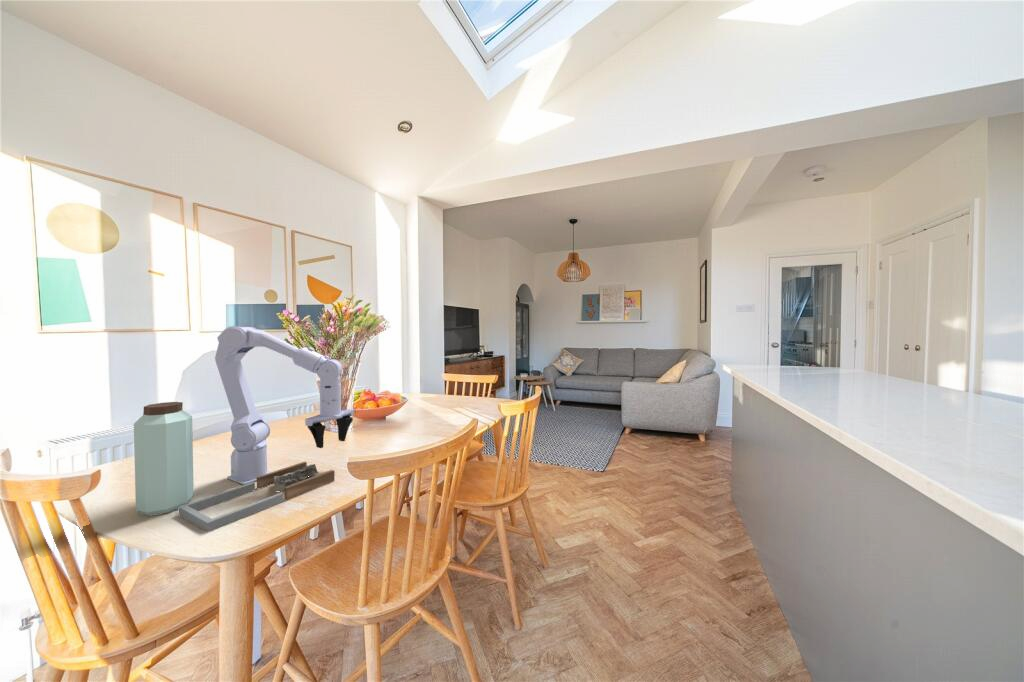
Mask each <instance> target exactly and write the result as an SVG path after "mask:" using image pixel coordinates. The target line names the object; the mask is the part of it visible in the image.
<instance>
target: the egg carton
mask: <svg viewBox="0 0 1024 682" xmlns="http://www.w3.org/2000/svg"><path fill="white" fill-rule="evenodd" d="M319 474H320V473H319V472H318V469H317V467H316V464H315V463H313V464H309V465H307V466H305V467H303V469H302V470H297V471H295V472H292V473H287V474H285V475H283V476H280V477H279V476H275V477H274V484H273V485H274V487H275V488H274V492H275V493H277V492H276V491H280V492H279V493H281V492H282V493H284V487H287V486H289V485H292V484H295V483H297V482H300V481H303V480H306V479H308V478H311V477H314V476H316V475H319ZM308 476H309V477H308Z"/></svg>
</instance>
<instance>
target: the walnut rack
mask: <svg viewBox="0 0 1024 682" xmlns="http://www.w3.org/2000/svg"><path fill="white" fill-rule="evenodd" d="M307 464H308V463H307V462H306V461H302V462H299V463H296V464H293V465H289V466H287V467H283V468H281V469H277V470H274V471H270V472H271V473H268V474H265V475H262V476H258V477H257V481H256V488H257V489H258V488H260V489H263V488H265V486H266V487H268V486H267V485H269V486H271V485H270V484H272V485H274V484H273V483H274V477H275V476H279V477H280V476H283V475H285V474H287V473H292V472H295V471H297V470H302V469H303V467H305V466H308V465H307ZM318 474H319V475H316V476H314V477H311V478H308V479H306V480H303V481H300V482H297V483H295V484H292V485H289V486H287V487H284V492H283V493H284V494H283V500H286V501H289V500H291V499H294V498H296V497H298V495H299V496H301V495H304V494H305V493H308V492H311V491H314V490H315V489H318V488H321V487H323V486H325V485H328V484H331V483H333V482H335V470H333V469H330V470H328V471H324V472H322V473H318ZM330 482H331V483H330ZM262 487H263V488H262ZM303 493H304V494H303ZM293 497H294V498H293Z"/></svg>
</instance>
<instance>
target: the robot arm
mask: <svg viewBox="0 0 1024 682" xmlns="http://www.w3.org/2000/svg"><path fill="white" fill-rule="evenodd" d="M217 341H218V343H217V344H218V345H217V349H216V353H215V356H214V360H215V364H216V367H217V370H218V373H219V376H220V379H221V382H222V384H223V385H222V386H223V389H224V391H225V395H226V398H227V401H228V404H229V406H230V410H231V413H232V416H233V420H232V422H231V425H230V430H231V437H230V444H231V445H232V447H233V448H234V449H233V450H232V452H231V454H230V475H228V476H227V477H226V478H227V479H228V480H230V481H234V482H236V483H238V484H240V485H245V484H248V483H251V482H254V483H255V482H257V477H258V476H262V475H265V474H268V473H271V472H272V471H268V448H267V447H268V444H267V438H268V437H269V436H270V434H271V427H270V425H269V424H268V423H267V422H266V421H265V419H264V417H263V415H262V414H260V413H259V412H258V411H257V408H256V406H255V402H254V399H253V396H252V393H251V389H250V386H249V383H248V381H247V377H246V374H245V370H244V368H243V365H242V359H243V358H244V357H245V356H246V355H247V354H248V352H249V351H251V350H253V349H254V348H257V347H258V348H259V347H262V348H267V349H269V350H271V351H273V352H277V353H278V354H281V355H284V356H286V357H288V358H290V359H292V361H293V364H294V365H296V366H297V367H300V368H302V369H304V370H307V371H309V372H311V373H313V374H316V375H317V377H318V378H319V414H317V415H313V416H310V417H308V418H305V420H304V421H305V422H304V423H305V424H304V425H305V426H307V428H308V430H309V431H310V433H311V435H312V436H313V440H314V442H315V446H316V448H319V449H323V448H324V437H325V436H324V435H325V430H326V425H324V424H323V423H326V422H331V421H333V420H335V422H336V424H337V433H338V434H337V436H338V437H337V438H338V441H339V442H345V441H346V437H347V434H348V431H349V429H350V425H351V424H352V422H353V421H354V419H353V416H354V415H355V413H354V412H355V409H352V408H351V409H350V408H348V409H343V410H342V384H341V383H342V382H341V374H342V373H343V369H344V368H343V364H342V363H341V362H340V361H339V360H338V359H336V358H330V356H329V355H322V354H321V353H319V352H316V351H315V349H314V348H313V347H311V346H310V347H301V348H298V347H296V346H294V345H292V344H291V343H288V342H287V341H284V340H282V339H281V338H278V337H277V336H275V335H273V334H271V333H269V332H267V331H265V330H262V329H258V328H256V327H254V326H236V325H235V326H233V325H232V326H228V327H226V328H225V329H224V330H223V331H222V332H221V333H220V334H219V335H218V336H217Z"/></svg>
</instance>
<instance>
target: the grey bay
mask: <svg viewBox="0 0 1024 682" xmlns="http://www.w3.org/2000/svg"><path fill="white" fill-rule="evenodd" d="M253 490H255V491H256V482H255V481H254V482H251V483H248V484H245V485H243V484H241V485H240V486H238V487H234V488H231V489H228V490H224V491H222V492H220V493H215V494H212V495H210V496H207V497H204V498H200V499H197V500H194V501H192V502H191V501H190V502H188V503H187V504H185V505H182V506H179V509H178V516H179V515H180V517H181V518H183V519H184V518H185V520H186V521H188V522H189V523H191V524H193V525H195V526H197V527H198V528H200V529H202V530H203V531H205V532H207V533H210V532H211V531H214V529H215V530H216V529H219V527H220V528H222V527H224V526H226V525H230V524H231V523H234V522H237V521H240V520H241V519H244V518H246V517H249V516H251V515H253V514H257V513H259V512H261V511H264V510H266V509H268V508H270V507H271V508H272V507H274V506H276V505H278V504H281V503H283V502H284V494H283V492H282V493H281V492H278V493H277V494H273V495H271V496H268V497H266V498H263V499H261V500H259V501H255V502H253V503H250V504H247V505H245V506H242V507H239V508H237V509H234V510H231V511H229V512H226V513H223V514H221V515H219V516H216V517H215V516H214V517H213V518H211V517H210V516H208V515H206V514H204V513H202V512H200V511H201V510H204V509H205V508H206V507H207V508H209V506H210V507H212V506H215V505H218V504H221V503H224V502H226V501H229V500H231V499H236V498H238V497H240V495H241V496H243V495H246V494H249V493H252V492H254V491H253ZM251 491H252V492H251ZM248 492H249V493H248ZM245 493H246V494H245ZM242 494H243V495H242ZM237 496H238V497H237ZM223 501H224V502H223ZM220 502H221V503H220ZM207 508H206V509H207Z"/></svg>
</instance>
